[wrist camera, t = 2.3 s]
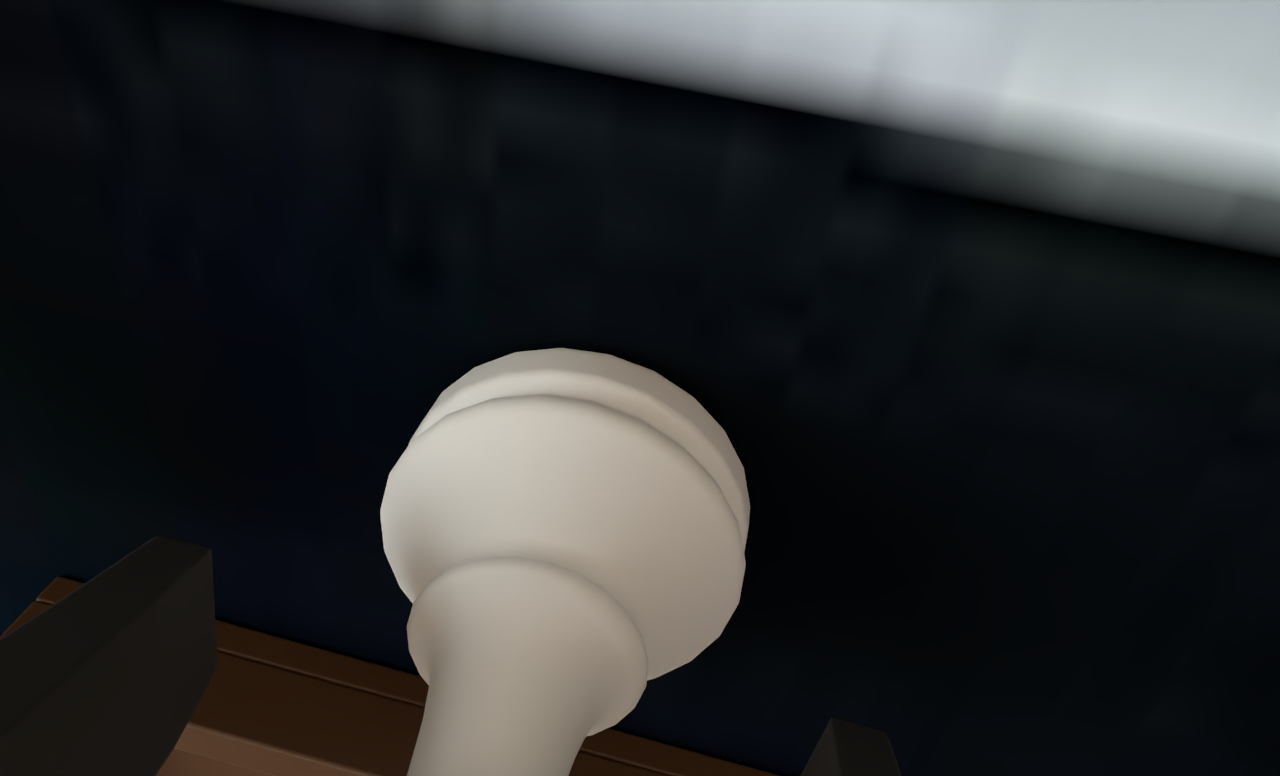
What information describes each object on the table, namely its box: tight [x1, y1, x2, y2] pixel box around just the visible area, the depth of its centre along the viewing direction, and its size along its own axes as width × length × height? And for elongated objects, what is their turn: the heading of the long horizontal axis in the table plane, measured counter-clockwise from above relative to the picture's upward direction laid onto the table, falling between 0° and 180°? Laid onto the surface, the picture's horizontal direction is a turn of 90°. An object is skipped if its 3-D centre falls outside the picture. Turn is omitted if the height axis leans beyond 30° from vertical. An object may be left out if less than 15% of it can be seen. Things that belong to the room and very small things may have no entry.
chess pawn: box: [380, 348, 750, 776], centre depth 10 cm, size 5×5×9 cm
